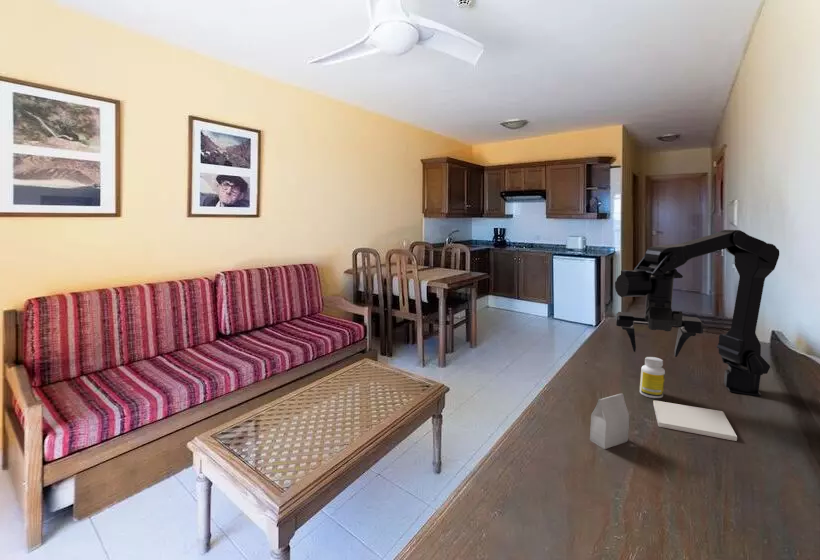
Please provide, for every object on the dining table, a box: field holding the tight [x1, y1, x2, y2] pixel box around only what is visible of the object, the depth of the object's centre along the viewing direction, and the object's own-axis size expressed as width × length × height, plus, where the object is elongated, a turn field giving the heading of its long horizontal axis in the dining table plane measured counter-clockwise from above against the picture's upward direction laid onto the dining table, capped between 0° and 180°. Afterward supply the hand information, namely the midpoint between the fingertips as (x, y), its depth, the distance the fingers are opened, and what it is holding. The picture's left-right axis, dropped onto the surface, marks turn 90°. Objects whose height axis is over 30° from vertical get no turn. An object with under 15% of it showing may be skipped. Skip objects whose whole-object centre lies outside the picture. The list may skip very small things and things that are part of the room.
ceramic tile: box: [652, 400, 738, 442], centre depth 90 cm, size 14×12×1 cm
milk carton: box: [589, 392, 630, 450], centre depth 82 cm, size 4×7×10 cm, turn 114°
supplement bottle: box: [639, 356, 666, 399], centre depth 104 cm, size 5×5×10 cm
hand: (654, 353), depth 103 cm, fingers open, 9 cm apart
